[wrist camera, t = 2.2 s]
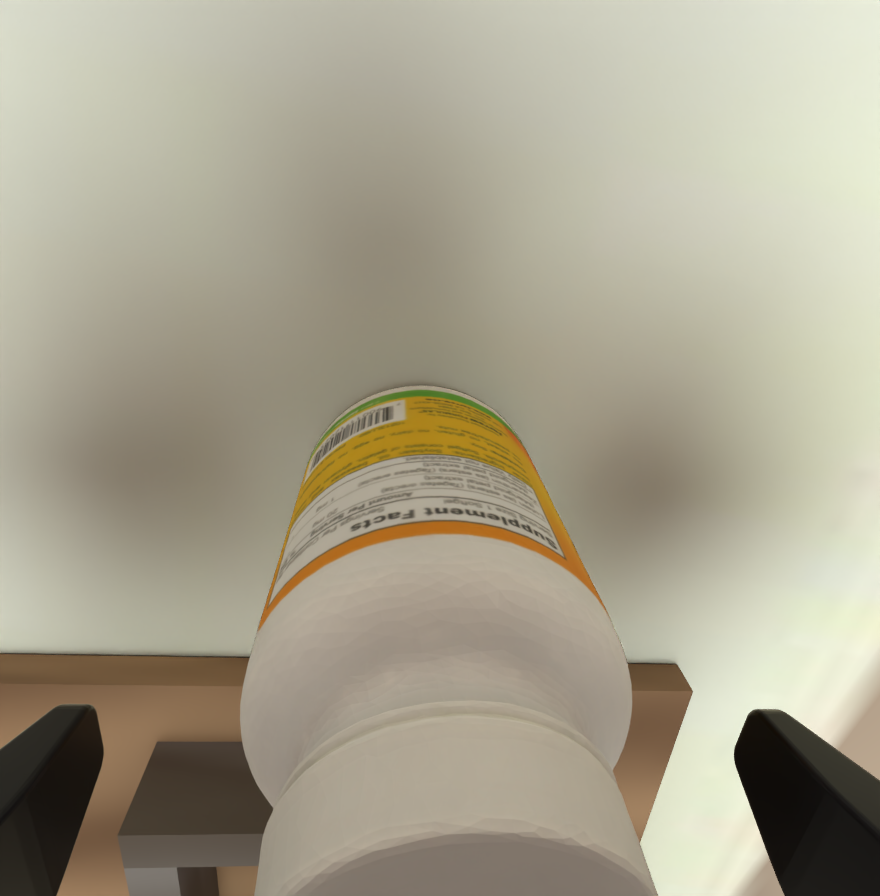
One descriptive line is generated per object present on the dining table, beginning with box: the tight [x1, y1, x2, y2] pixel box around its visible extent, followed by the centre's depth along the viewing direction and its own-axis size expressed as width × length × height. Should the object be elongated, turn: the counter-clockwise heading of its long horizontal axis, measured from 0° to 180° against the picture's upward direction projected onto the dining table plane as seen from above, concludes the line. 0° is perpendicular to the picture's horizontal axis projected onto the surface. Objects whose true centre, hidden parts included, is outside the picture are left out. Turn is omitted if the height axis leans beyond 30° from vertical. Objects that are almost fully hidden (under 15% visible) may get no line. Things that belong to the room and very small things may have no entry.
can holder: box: [0, 654, 693, 896], centre depth 17 cm, size 13×20×4 cm, turn 85°
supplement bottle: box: [240, 385, 658, 896], centre depth 10 cm, size 5×5×10 cm
